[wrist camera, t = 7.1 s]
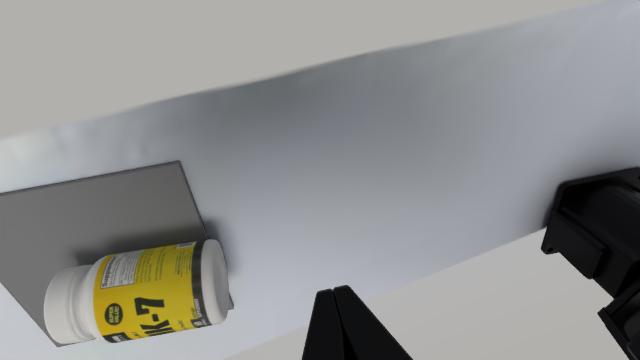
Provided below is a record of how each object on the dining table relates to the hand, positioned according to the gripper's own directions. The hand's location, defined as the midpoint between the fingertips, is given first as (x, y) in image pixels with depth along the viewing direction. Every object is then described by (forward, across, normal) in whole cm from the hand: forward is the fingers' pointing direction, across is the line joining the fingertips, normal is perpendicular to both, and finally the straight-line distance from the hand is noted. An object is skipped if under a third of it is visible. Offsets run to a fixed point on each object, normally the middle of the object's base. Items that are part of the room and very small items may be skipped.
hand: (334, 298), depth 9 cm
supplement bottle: (+9, +6, +7) cm, 13 cm away
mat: (+12, +12, +7) cm, 18 cm away
